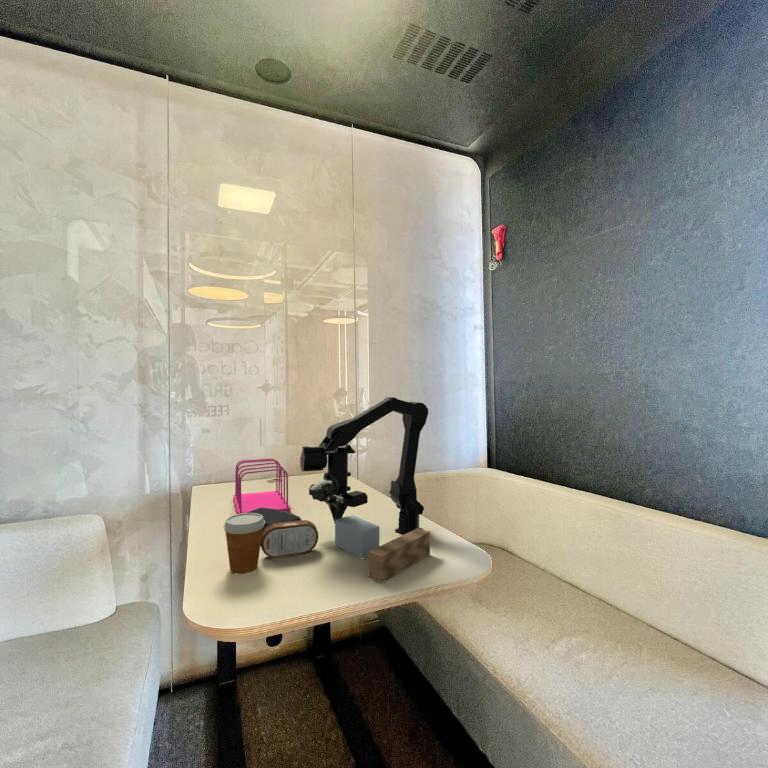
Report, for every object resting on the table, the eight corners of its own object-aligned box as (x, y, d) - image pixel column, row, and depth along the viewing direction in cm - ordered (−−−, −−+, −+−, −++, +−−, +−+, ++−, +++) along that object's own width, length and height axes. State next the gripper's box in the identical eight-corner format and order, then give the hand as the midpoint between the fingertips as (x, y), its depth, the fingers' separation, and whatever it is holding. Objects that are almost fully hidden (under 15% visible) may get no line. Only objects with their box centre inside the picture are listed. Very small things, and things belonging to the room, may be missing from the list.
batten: (417, 550, 107) (417, 528, 107) (429, 554, 105) (430, 531, 105) (368, 577, 92) (368, 551, 92) (381, 583, 89) (381, 556, 89)
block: (352, 539, 115) (352, 515, 115) (379, 552, 106) (379, 526, 106) (334, 544, 111) (335, 519, 111) (361, 558, 102) (361, 531, 102)
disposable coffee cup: (216, 567, 96) (216, 518, 96) (253, 556, 103) (253, 509, 103) (233, 581, 89) (233, 528, 89) (271, 568, 96) (272, 518, 96)
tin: (316, 548, 108) (317, 517, 108) (319, 552, 105) (319, 520, 105) (259, 556, 103) (259, 524, 103) (260, 561, 100) (260, 528, 100)
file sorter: (237, 519, 131) (238, 471, 131) (233, 499, 154) (233, 458, 154) (290, 512, 138) (291, 467, 138) (278, 494, 161) (279, 456, 161)
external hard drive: (262, 516, 135) (262, 504, 135) (305, 527, 125) (305, 514, 125) (230, 528, 124) (230, 515, 124) (274, 541, 114) (274, 527, 114)
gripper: (294, 468, 113) (293, 523, 113) (339, 479, 101) (338, 541, 101) (324, 463, 121) (323, 514, 121) (369, 472, 109) (368, 529, 109)
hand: (336, 524), depth 113 cm, fingers closed
